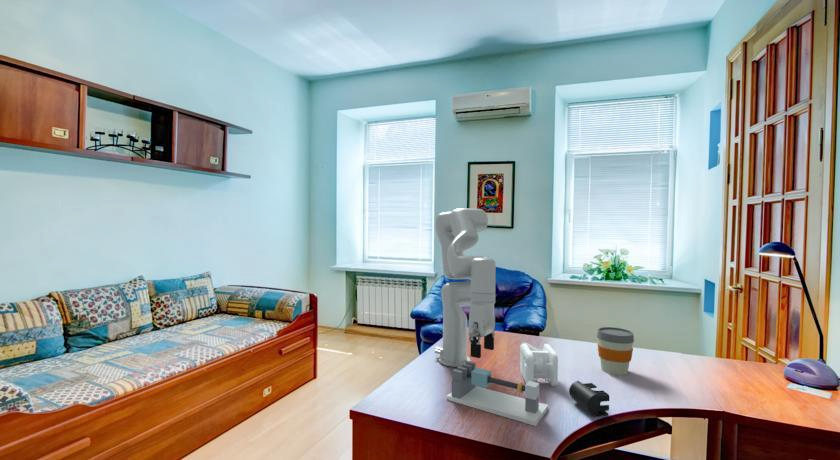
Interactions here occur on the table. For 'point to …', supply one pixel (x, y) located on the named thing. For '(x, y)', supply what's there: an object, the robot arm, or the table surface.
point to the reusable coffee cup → (615, 349)
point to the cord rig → (497, 396)
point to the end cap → (589, 398)
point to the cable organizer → (539, 364)
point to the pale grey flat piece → (532, 347)
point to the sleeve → (480, 377)
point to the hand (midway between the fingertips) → (482, 353)
